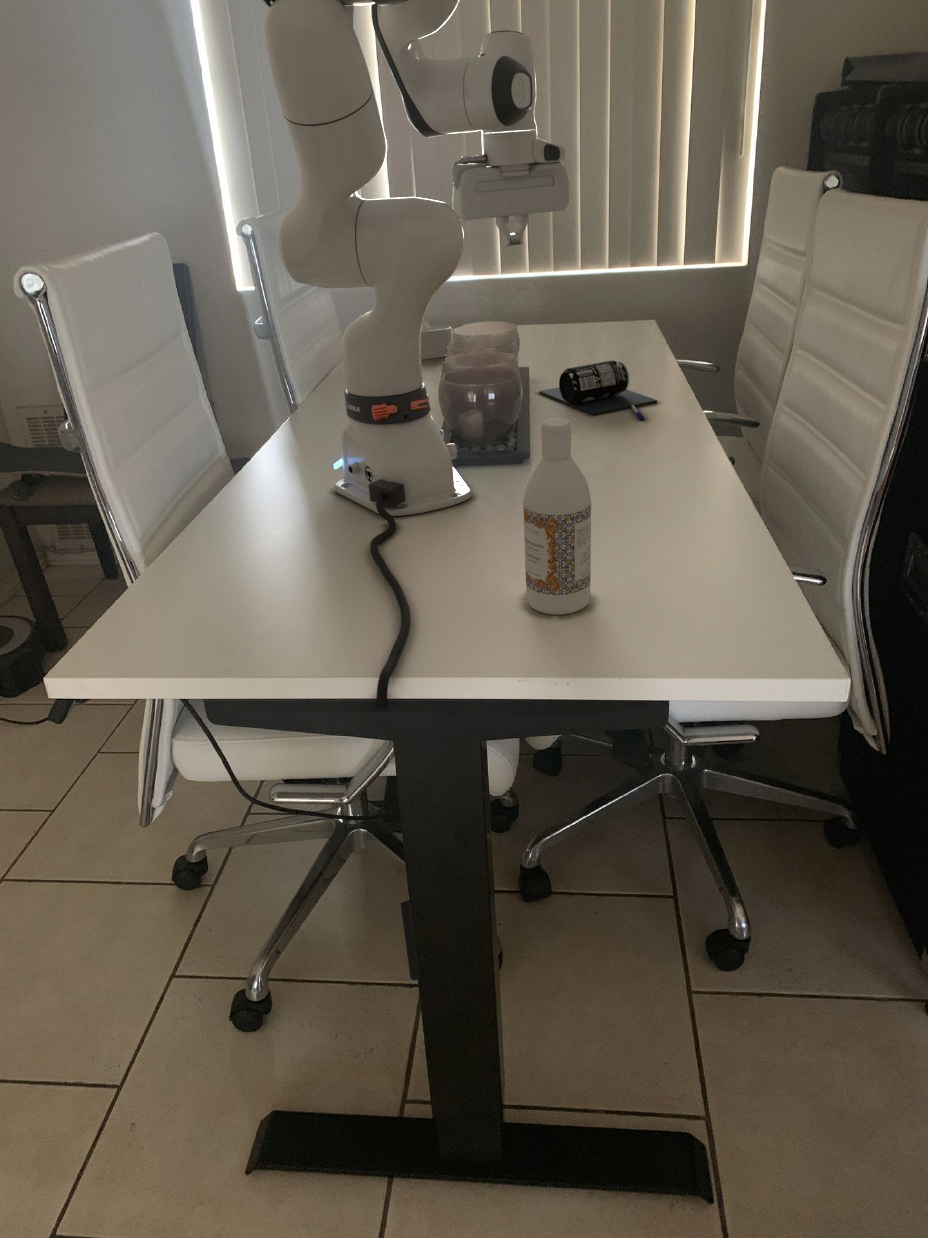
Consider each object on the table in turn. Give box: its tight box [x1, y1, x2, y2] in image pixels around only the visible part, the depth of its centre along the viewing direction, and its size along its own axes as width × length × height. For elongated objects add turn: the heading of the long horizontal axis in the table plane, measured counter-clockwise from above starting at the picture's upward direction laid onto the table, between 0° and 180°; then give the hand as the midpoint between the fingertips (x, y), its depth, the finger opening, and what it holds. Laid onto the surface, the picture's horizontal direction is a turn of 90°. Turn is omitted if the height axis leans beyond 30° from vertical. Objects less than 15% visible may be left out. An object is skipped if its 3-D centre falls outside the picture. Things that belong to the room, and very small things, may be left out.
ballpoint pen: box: [630, 404, 645, 422], centre depth 160 cm, size 10×1×1 cm, turn 3°
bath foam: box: [522, 418, 592, 616], centre depth 92 cm, size 7×7×20 cm
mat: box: [538, 386, 658, 416], centre depth 170 cm, size 20×14×1 cm
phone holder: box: [421, 314, 453, 361], centre depth 214 cm, size 17×10×18 cm, turn 15°
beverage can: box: [558, 359, 630, 404], centre depth 166 cm, size 7×7×12 cm
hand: (512, 245), depth 149 cm, fingers closed
